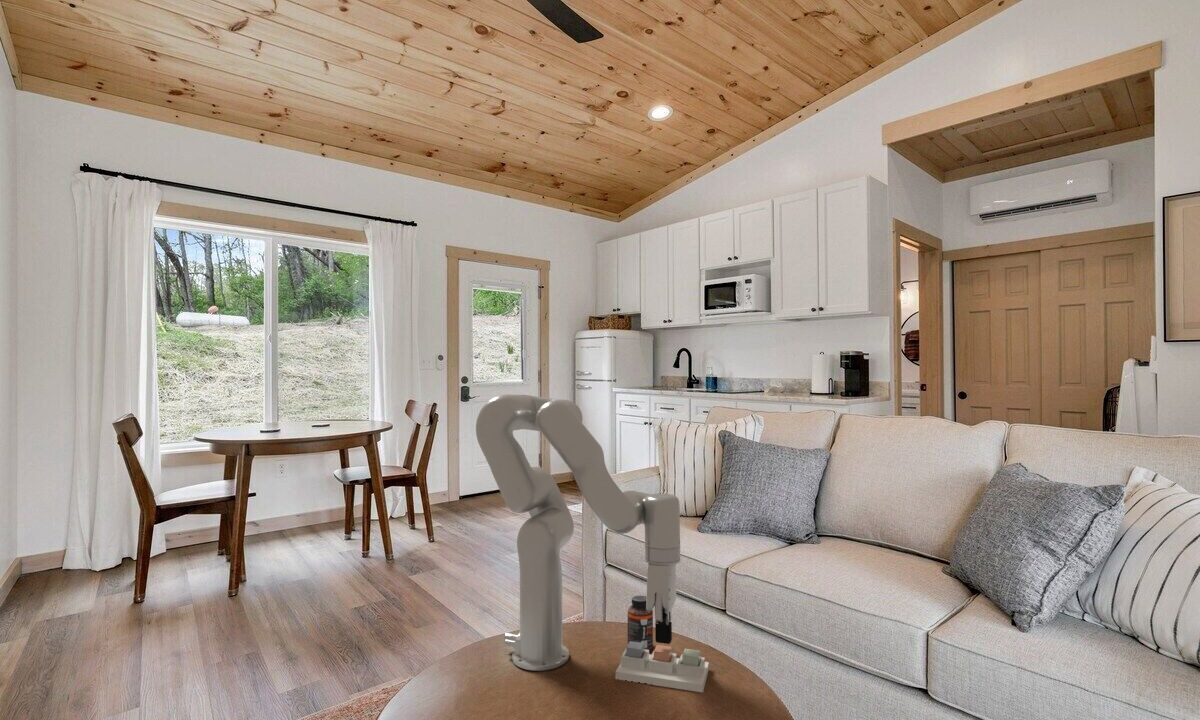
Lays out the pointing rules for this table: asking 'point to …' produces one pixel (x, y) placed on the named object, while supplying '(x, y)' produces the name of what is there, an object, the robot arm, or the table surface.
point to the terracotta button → (663, 653)
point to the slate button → (635, 649)
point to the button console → (663, 672)
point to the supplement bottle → (640, 622)
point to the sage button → (691, 657)
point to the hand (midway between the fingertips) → (663, 641)
